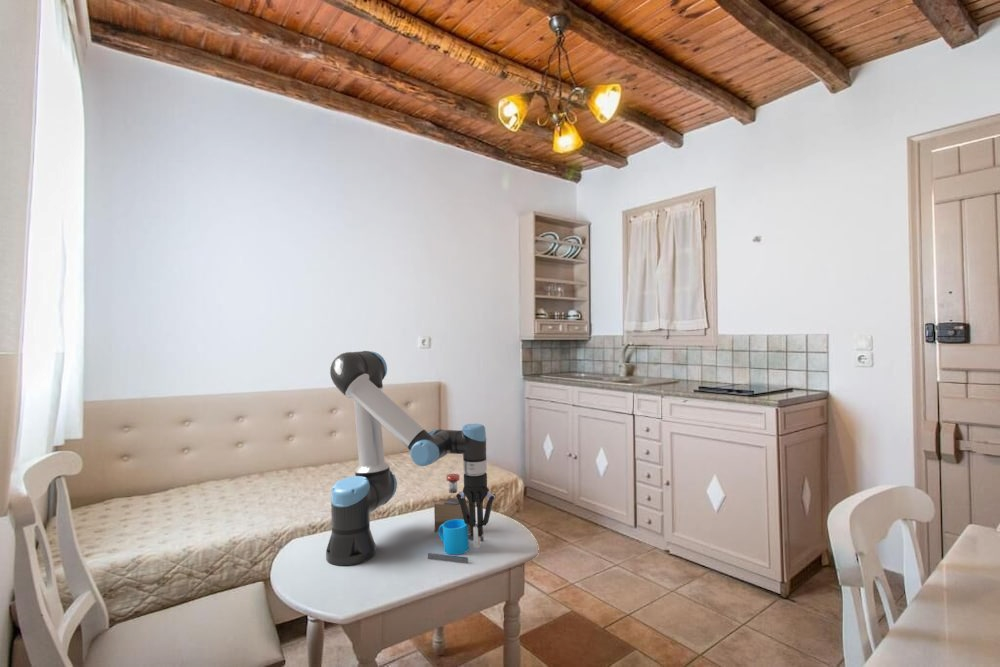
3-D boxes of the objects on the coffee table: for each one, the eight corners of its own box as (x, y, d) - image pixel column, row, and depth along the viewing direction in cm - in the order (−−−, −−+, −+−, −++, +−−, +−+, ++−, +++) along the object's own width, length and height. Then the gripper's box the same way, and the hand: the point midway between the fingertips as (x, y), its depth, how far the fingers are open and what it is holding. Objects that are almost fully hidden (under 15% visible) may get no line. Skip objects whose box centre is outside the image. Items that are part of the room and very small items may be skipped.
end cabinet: (466, 535, 169) (466, 505, 169) (434, 532, 172) (434, 502, 172) (472, 528, 175) (471, 499, 175) (441, 525, 178) (440, 496, 178)
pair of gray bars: (427, 558, 152) (427, 553, 152) (447, 536, 168) (447, 532, 168) (467, 563, 148) (467, 558, 148) (483, 540, 165) (483, 536, 165)
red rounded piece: (444, 493, 172) (444, 477, 172) (449, 489, 176) (449, 473, 176) (456, 494, 170) (456, 477, 170) (461, 490, 175) (461, 474, 175)
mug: (474, 547, 158) (472, 522, 158) (456, 557, 152) (455, 531, 152) (448, 538, 166) (447, 514, 166) (430, 547, 160) (429, 523, 160)
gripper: (452, 475, 154) (454, 549, 154) (491, 477, 151) (493, 552, 151) (460, 468, 162) (462, 539, 162) (497, 470, 158) (499, 542, 158)
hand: (477, 545), depth 156 cm, fingers closed
